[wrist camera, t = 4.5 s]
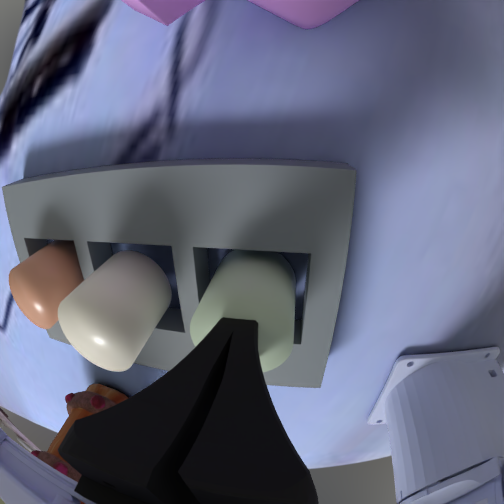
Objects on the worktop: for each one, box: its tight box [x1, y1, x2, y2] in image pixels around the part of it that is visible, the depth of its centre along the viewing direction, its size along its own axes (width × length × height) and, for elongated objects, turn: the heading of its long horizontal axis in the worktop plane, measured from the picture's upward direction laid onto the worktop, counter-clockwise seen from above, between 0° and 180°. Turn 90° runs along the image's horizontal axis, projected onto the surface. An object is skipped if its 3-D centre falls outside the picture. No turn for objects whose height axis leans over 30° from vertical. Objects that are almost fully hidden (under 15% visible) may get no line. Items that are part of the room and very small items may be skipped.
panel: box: [2, 158, 356, 388], centre depth 15 cm, size 20×12×2 cm, turn 91°
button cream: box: [58, 250, 172, 372], centre depth 12 cm, size 4×4×4 cm
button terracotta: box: [9, 240, 84, 329], centre depth 14 cm, size 4×4×4 cm
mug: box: [31, 384, 129, 504], centre depth 18 cm, size 15×8×15 cm, turn 167°
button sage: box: [190, 249, 296, 372], centre depth 13 cm, size 4×4×4 cm
